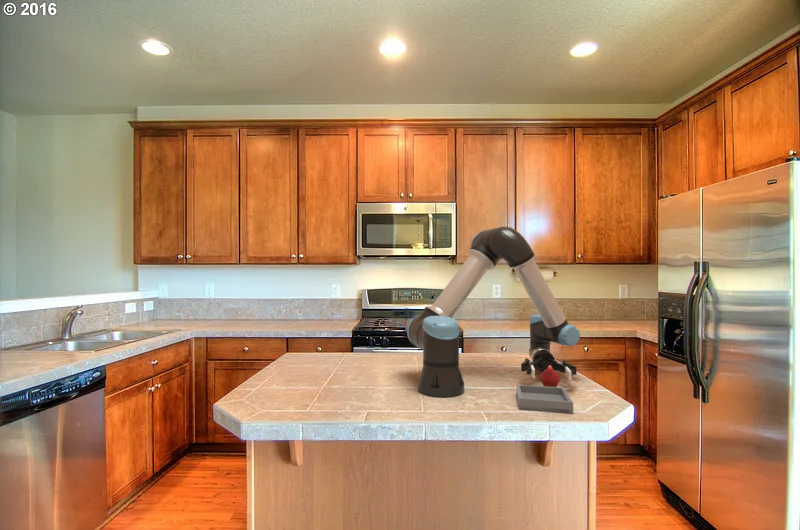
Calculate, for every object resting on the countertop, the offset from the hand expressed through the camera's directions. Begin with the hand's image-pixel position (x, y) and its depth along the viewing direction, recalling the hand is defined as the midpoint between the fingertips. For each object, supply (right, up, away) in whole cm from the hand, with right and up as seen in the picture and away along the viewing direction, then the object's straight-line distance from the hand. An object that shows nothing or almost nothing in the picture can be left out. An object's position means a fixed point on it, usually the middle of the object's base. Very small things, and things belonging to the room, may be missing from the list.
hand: (551, 375), depth 120 cm
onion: (+1, -6, +4) cm, 8 cm away
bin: (-6, -6, -8) cm, 12 cm away
